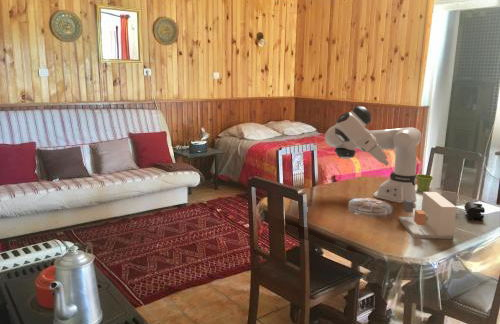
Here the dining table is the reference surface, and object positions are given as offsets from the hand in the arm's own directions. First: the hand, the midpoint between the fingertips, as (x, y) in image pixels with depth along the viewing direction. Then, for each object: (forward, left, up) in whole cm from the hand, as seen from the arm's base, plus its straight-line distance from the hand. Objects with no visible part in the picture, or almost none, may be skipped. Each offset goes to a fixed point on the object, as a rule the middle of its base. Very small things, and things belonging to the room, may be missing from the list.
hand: (386, 163), depth 188 cm
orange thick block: (+19, -9, -22) cm, 30 cm away
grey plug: (+11, +5, -22) cm, 25 cm away
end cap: (+35, +30, -28) cm, 54 cm away
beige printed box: (+23, +34, -28) cm, 49 cm away
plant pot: (+5, +66, -28) cm, 71 cm away
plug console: (+19, 0, -27) cm, 33 cm away
